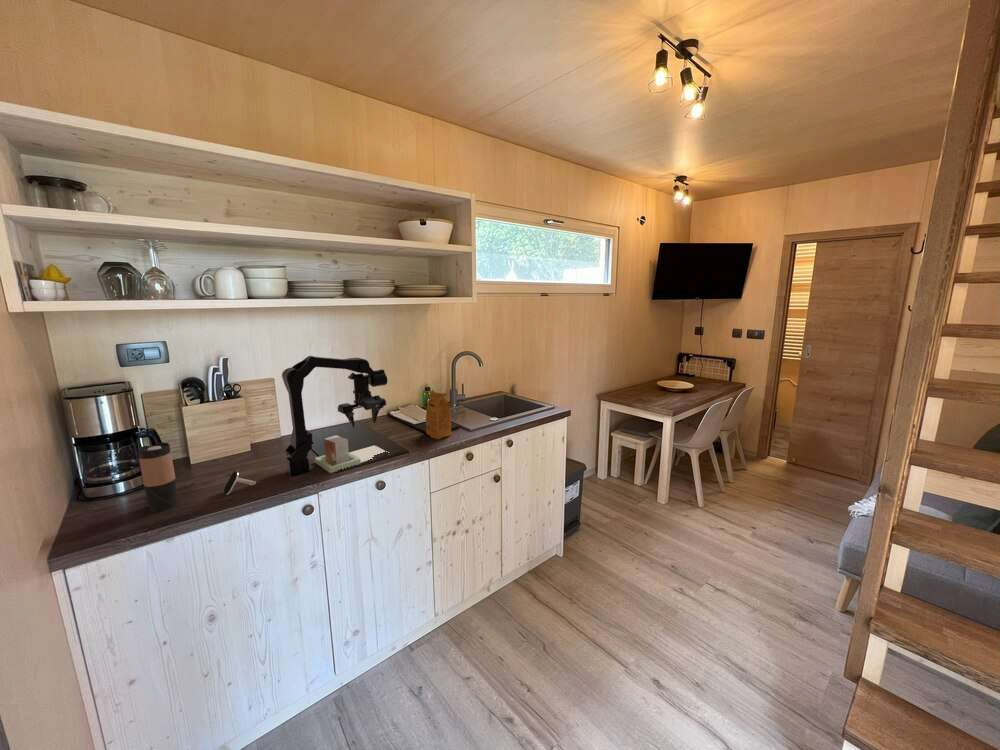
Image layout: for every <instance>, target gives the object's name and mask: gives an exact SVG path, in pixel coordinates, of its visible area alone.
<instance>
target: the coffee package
mask: <svg viewBox="0 0 1000 750" xmlns="http://www.w3.org/2000/svg"><path fill="white" fill-rule="evenodd" d="M451 412H452V407H451V405H450V403H449V401H448V400H447V393H445V392H437V390H435V389H434V388H433V389H431V391H430V394H429V398H428V401H427V405H426V414H425V415H426V416H425V425H426V429H425V431H426V435H428V436H429V437H430V438H432V439H435V440H441V439H443V438H446V437H450V436H451V435H452V413H451Z"/></svg>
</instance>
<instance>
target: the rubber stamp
mask: <svg viewBox="0 0 1000 750" xmlns="http://www.w3.org/2000/svg"><path fill="white" fill-rule="evenodd" d="M239 474H240V472H239V471H234V472H233V473H232V474H231V475H230V477H229V479H228V481H227V482H226V483H225V487H224V489H223V494H224V495H225V496H228V495H229V494H231V492H232V491H233V488H234V487H235V485H236V483H241V484H246V485H249V486H255V485H256V484H257V481H255V480H251V479H246V478H241V477H239Z"/></svg>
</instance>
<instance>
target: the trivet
mask: <svg viewBox="0 0 1000 750" xmlns="http://www.w3.org/2000/svg"><path fill="white" fill-rule="evenodd" d="M385 451H386V450H384V449H382V448H380V447H379V446H377V445H371V446H368V447H364V448H360V449H357V450H353V451H351V452H350V451H349V453H351V454H353V455H354V456H356V457H358V458H359V459H361V463H364V462H368V460H369V461H371V460H370V459H372V460H374V459H373V458H372V457H374V455H377V454H380V453H383V452H385ZM386 452H388V451H386ZM388 453H390V452H388Z"/></svg>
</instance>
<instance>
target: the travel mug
mask: <svg viewBox="0 0 1000 750" xmlns="http://www.w3.org/2000/svg"><path fill="white" fill-rule="evenodd" d="M137 454H138V459H139V465H140V466H139V467H140V472H141V478H142V482H143V483H142V484H143V488H144V493H145V496H146V501H147V505H148V509H149V512H153V513H155V512H156V513H158V512H163V511H167V510H168V511H169V510H170V509H173V508H174V507H176V506H178V504H179V495H178V489H177V488H178V487H177V479H176V473H175V467H174V462H173V456H172V452H171V445H170V443H168V442H157V443H155V444H154V445H153V444H152V445H143V446H140V447H139V448H138V449H137Z"/></svg>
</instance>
